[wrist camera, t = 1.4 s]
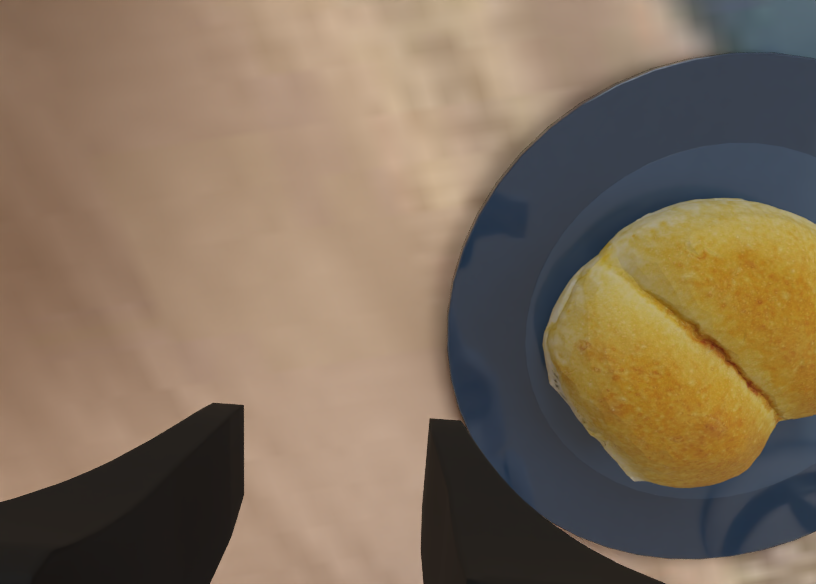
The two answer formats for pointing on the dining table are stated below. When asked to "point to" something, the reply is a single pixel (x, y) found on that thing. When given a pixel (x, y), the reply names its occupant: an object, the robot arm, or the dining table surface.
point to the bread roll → (690, 339)
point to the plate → (582, 241)
